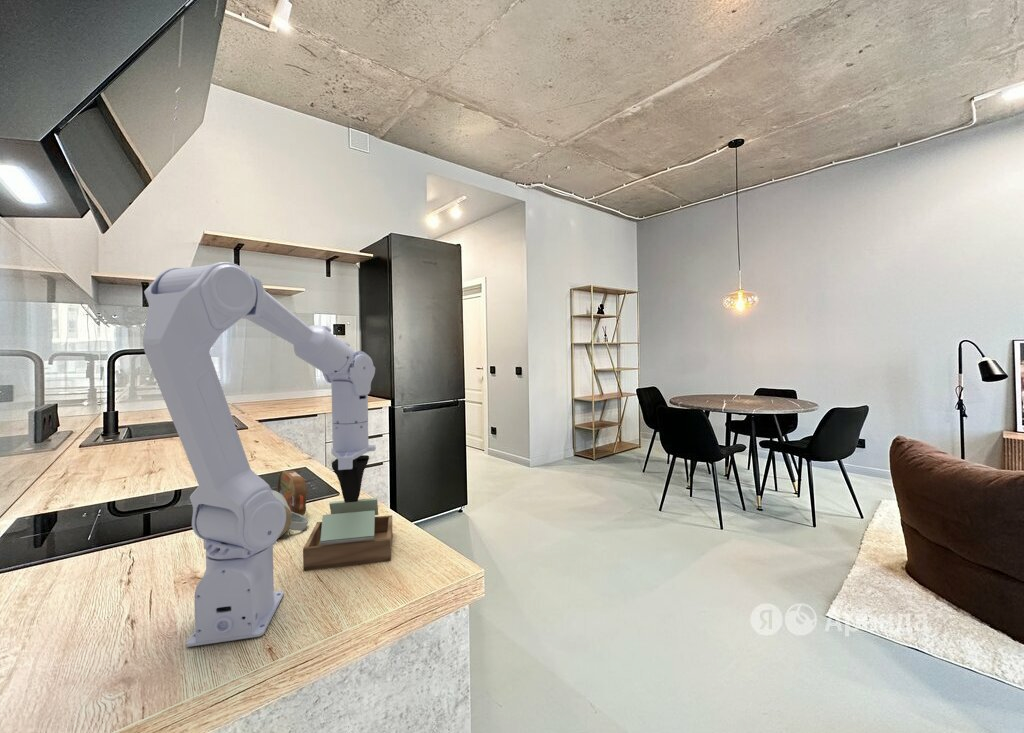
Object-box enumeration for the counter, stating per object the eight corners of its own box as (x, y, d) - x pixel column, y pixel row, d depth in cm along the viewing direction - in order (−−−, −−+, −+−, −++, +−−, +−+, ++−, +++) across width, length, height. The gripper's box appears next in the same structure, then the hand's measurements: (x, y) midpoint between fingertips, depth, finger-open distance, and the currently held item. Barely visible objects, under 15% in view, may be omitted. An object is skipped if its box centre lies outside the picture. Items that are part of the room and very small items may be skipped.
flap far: (378, 515, 79) (378, 513, 80) (377, 500, 77) (377, 497, 77) (331, 519, 77) (332, 517, 78) (329, 503, 75) (329, 501, 75)
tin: (276, 505, 96) (275, 467, 96) (292, 501, 98) (291, 465, 98) (292, 525, 84) (291, 483, 84) (309, 521, 86) (309, 480, 86)
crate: (390, 560, 69) (390, 539, 69) (303, 570, 66) (302, 548, 66) (392, 533, 80) (392, 515, 80) (317, 540, 77) (317, 522, 77)
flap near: (320, 545, 67) (319, 544, 66) (323, 515, 69) (322, 514, 69) (374, 539, 69) (373, 539, 68) (374, 511, 71) (374, 510, 71)
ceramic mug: (247, 549, 74) (247, 504, 74) (241, 533, 80) (241, 493, 80) (313, 533, 81) (313, 493, 80) (302, 520, 87) (302, 483, 87)
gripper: (371, 427, 67) (373, 513, 67) (377, 414, 81) (378, 486, 81) (322, 429, 65) (324, 518, 65) (337, 416, 79) (338, 489, 79)
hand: (351, 500), depth 73 cm, fingers closed
